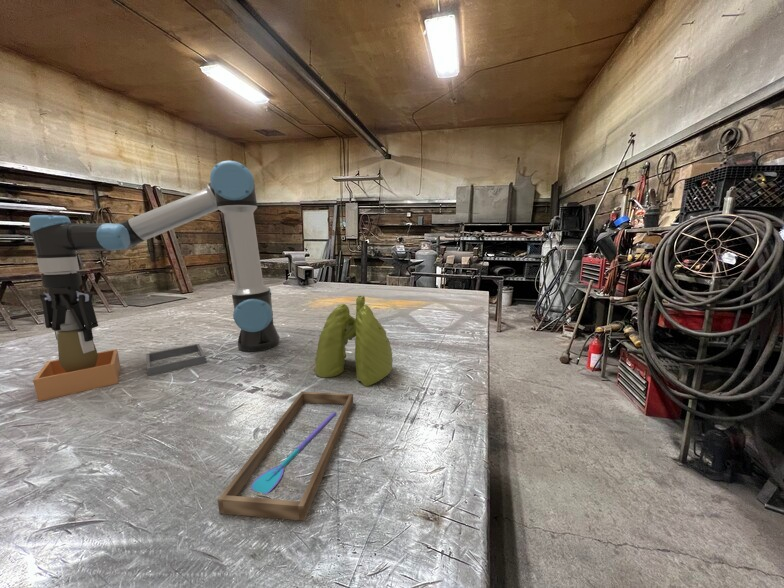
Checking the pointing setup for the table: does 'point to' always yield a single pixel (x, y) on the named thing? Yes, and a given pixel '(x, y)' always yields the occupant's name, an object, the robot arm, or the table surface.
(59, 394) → the wooden bin
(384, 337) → the lungs
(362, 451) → the table surface
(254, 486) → the paddle
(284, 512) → the brown wooden frame
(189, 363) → the tray
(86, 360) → the squeeze bottle
